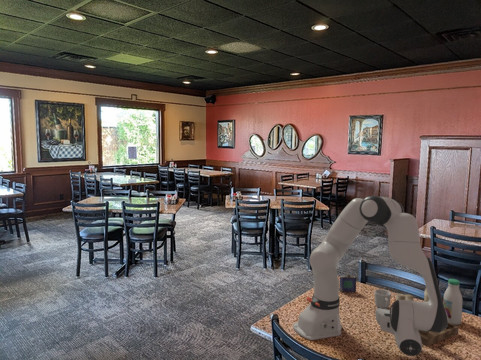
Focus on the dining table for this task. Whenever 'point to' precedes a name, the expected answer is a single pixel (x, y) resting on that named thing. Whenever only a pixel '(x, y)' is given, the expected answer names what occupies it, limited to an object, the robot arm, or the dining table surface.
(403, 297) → the loose leg
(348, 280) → the flask
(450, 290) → the milk bottle
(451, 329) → the stool
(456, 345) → the dining table surface
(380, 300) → the cup
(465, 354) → the dining table surface
